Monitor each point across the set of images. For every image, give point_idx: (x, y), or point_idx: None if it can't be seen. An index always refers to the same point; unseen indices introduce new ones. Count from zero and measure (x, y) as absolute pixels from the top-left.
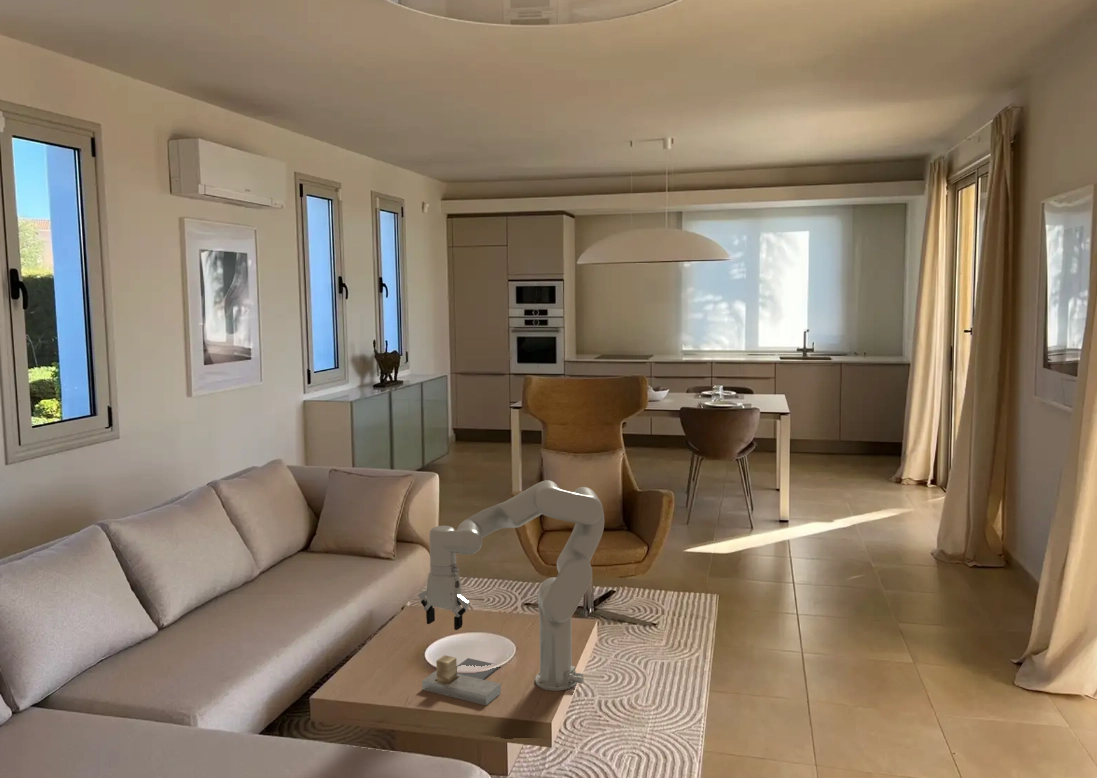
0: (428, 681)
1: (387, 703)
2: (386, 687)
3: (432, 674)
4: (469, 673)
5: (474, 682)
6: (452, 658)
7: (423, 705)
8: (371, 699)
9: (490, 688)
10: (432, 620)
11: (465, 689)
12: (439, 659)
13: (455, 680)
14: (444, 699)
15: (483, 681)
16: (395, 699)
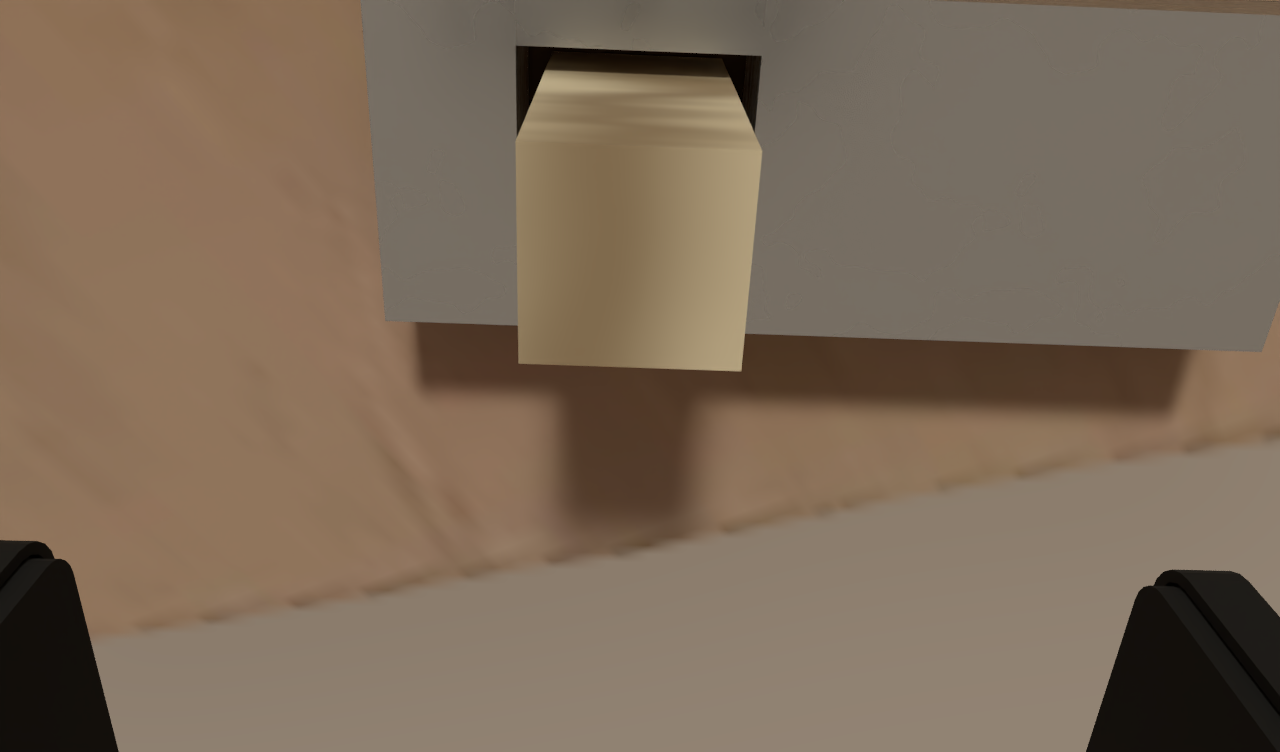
0: (472, 320)
1: (291, 582)
2: (32, 359)
3: (395, 146)
4: None
5: (1019, 125)
6: (715, 201)
7: (605, 500)
8: (113, 580)
9: (1271, 186)
10: (67, 702)
11: (980, 321)
12: (536, 311)
13: (763, 175)
14: None
15: (1128, 54)
16: (300, 507)
